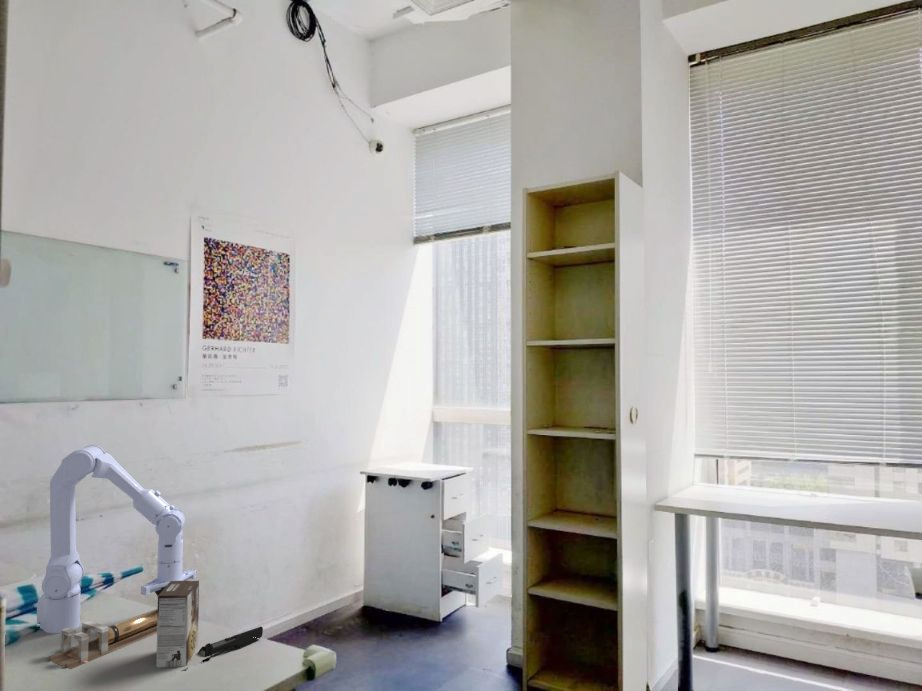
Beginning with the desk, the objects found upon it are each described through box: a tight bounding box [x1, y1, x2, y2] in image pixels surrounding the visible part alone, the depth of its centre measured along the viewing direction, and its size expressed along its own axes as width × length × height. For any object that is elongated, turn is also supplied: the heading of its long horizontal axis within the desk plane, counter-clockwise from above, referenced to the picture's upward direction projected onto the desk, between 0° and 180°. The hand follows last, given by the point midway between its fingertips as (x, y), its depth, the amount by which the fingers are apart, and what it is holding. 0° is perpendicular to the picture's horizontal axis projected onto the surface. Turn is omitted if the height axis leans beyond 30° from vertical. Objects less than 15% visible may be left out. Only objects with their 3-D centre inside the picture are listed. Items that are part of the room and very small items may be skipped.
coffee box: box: [155, 580, 200, 672], centre depth 141 cm, size 9×6×16 cm
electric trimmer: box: [197, 626, 264, 663], centre depth 147 cm, size 4×16×3 cm, turn 141°
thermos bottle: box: [96, 608, 158, 644], centre depth 152 cm, size 16×4×4 cm, turn 152°
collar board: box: [45, 620, 157, 670], centre depth 148 cm, size 9×26×6 cm, turn 152°
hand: (169, 615), depth 160 cm, fingers closed
